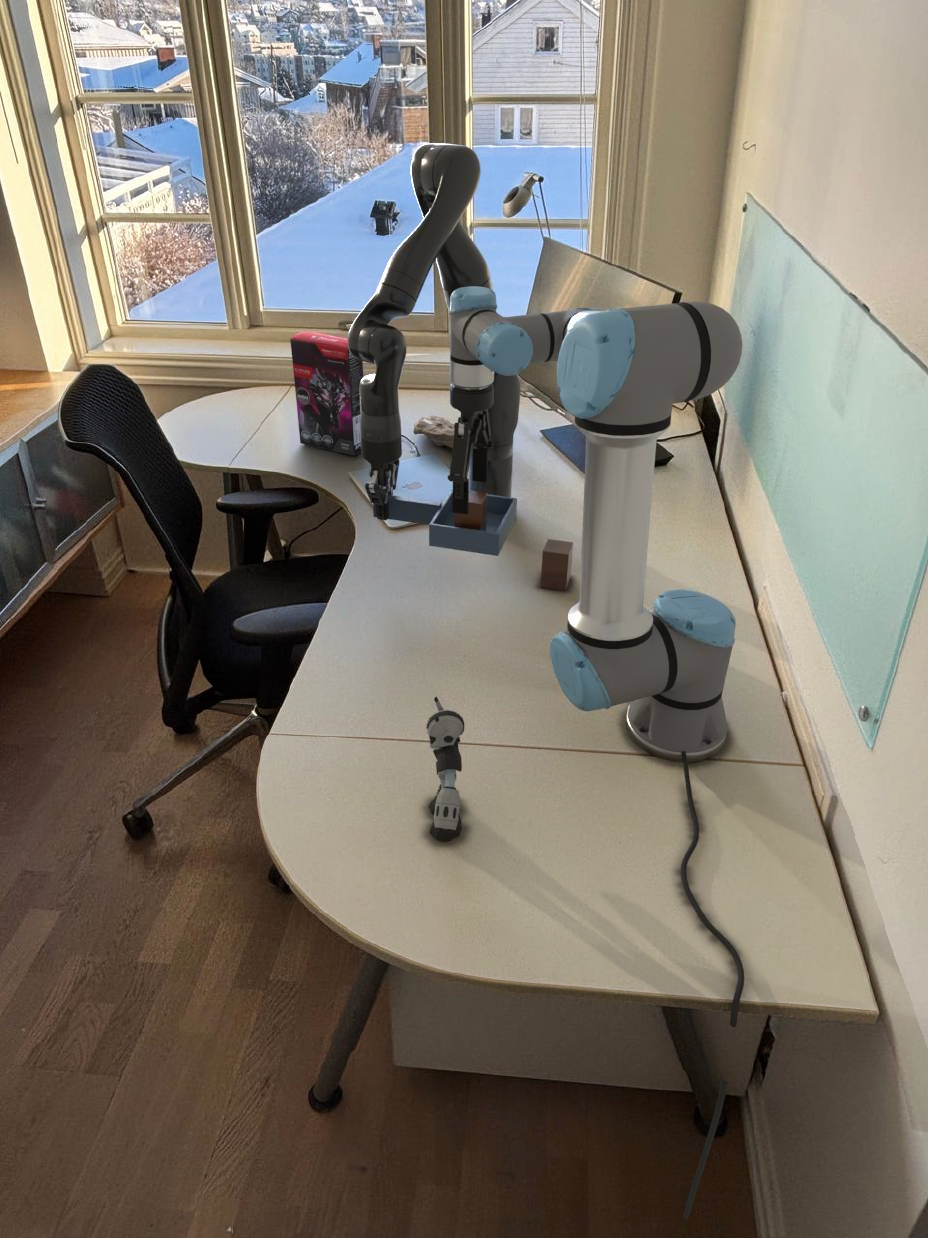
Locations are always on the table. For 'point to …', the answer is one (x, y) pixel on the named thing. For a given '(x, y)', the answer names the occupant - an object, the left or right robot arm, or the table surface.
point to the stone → (436, 430)
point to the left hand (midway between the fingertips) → (384, 516)
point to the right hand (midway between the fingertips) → (470, 496)
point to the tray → (442, 522)
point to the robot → (446, 772)
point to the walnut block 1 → (474, 512)
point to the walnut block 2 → (556, 564)
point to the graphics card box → (327, 392)
